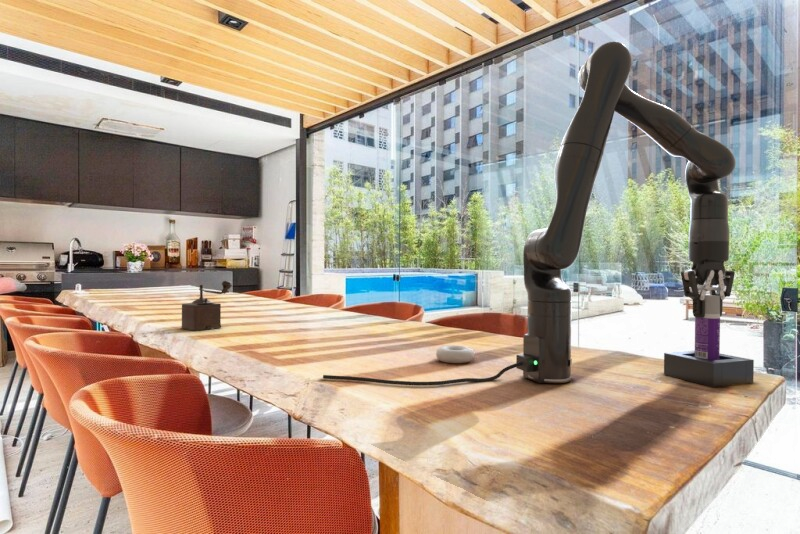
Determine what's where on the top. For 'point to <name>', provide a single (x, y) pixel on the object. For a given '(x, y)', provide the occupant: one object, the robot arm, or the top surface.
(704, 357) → the container
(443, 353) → the donut
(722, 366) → the stand
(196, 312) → the coffee grinder
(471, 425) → the top surface
